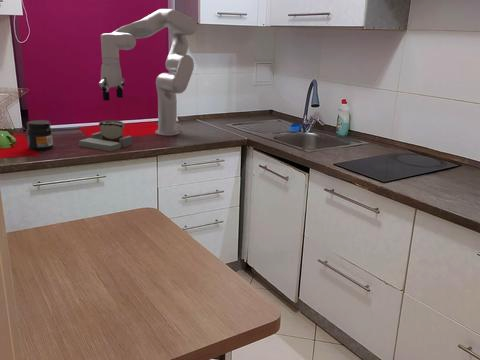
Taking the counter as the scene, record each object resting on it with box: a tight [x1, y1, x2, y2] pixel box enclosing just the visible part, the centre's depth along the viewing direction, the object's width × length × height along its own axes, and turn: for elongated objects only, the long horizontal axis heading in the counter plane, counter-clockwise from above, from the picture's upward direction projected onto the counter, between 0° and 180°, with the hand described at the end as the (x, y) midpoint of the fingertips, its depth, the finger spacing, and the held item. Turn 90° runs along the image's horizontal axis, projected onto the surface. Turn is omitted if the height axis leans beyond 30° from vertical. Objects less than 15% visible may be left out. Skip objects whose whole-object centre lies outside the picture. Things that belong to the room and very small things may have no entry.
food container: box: [98, 120, 125, 143], centre depth 228 cm, size 12×6×10 cm, turn 82°
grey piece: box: [78, 131, 133, 152], centre depth 224 cm, size 16×18×4 cm
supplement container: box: [26, 119, 54, 152], centre depth 213 cm, size 10×10×12 cm
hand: (113, 98), depth 223 cm, fingers open, 9 cm apart
